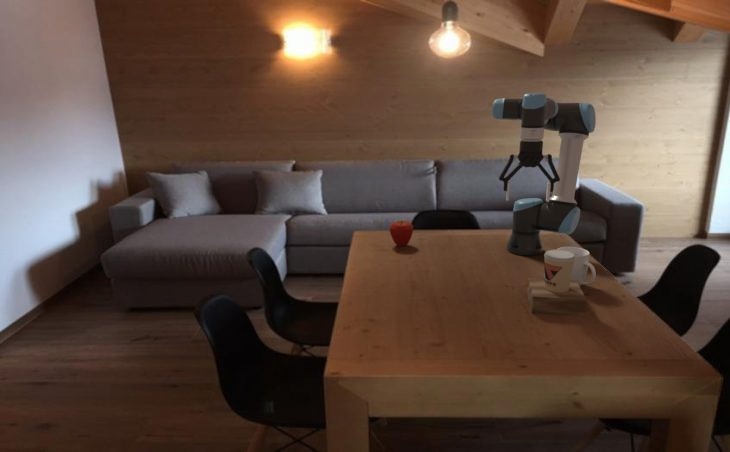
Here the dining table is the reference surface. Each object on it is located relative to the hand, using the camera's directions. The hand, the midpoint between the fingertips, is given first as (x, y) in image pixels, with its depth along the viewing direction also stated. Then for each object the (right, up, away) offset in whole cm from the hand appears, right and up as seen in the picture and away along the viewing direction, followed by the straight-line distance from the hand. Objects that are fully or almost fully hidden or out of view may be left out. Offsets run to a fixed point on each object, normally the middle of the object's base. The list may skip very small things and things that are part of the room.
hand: (527, 200), depth 176 cm
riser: (+6, -35, -9) cm, 37 cm away
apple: (-41, -18, +55) cm, 71 cm away
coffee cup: (+6, -30, -11) cm, 32 cm away
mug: (+18, -31, +6) cm, 37 cm away
